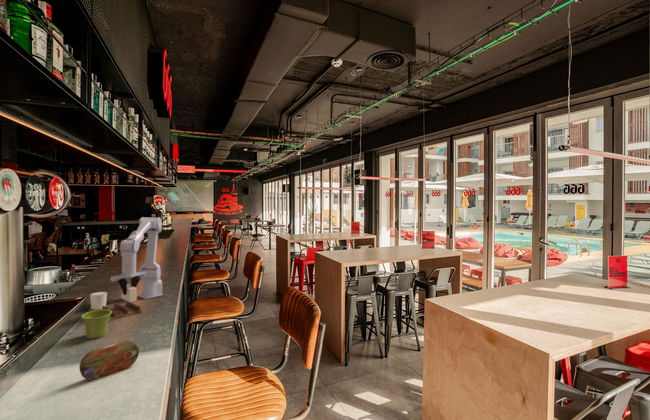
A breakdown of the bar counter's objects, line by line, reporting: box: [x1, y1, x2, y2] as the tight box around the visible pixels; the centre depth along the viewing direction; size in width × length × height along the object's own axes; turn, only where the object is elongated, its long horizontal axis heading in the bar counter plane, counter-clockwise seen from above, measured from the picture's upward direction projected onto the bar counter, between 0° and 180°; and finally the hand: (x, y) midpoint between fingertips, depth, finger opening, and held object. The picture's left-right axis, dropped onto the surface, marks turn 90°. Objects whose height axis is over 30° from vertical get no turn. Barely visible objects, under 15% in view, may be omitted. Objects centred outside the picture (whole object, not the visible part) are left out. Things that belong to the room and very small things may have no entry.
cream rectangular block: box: [121, 284, 138, 303], centre depth 145 cm, size 3×9×6 cm, turn 55°
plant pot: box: [81, 309, 112, 340], centre depth 118 cm, size 9×9×9 cm
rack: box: [88, 300, 143, 322], centre depth 141 cm, size 17×14×3 cm
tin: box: [78, 340, 140, 381], centre depth 94 cm, size 15×3×8 cm, turn 139°
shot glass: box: [89, 291, 108, 310], centre depth 149 cm, size 7×7×7 cm
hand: (128, 293), depth 145 cm, fingers closed on cream rectangular block, 3 cm apart
